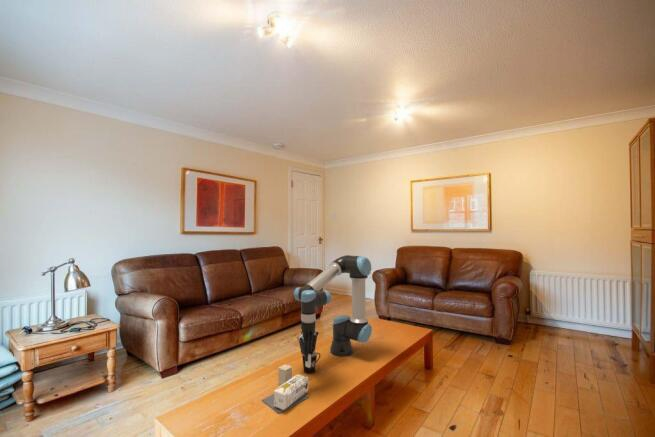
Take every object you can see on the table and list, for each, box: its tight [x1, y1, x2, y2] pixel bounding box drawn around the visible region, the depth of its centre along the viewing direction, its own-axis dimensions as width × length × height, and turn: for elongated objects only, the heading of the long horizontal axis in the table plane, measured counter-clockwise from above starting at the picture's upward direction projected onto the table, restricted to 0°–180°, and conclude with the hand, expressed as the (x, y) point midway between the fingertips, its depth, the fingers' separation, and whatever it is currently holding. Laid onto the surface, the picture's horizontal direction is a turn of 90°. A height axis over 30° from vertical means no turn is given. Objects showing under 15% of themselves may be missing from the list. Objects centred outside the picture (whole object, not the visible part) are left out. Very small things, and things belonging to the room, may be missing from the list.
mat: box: [261, 393, 310, 415], centre depth 145 cm, size 18×14×1 cm
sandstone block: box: [277, 363, 293, 387], centre depth 158 cm, size 5×5×9 cm
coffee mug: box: [301, 350, 321, 375], centre depth 173 cm, size 12×9×10 cm
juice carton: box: [273, 373, 309, 411], centre depth 143 cm, size 8×9×19 cm
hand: (308, 366), depth 155 cm, fingers closed
